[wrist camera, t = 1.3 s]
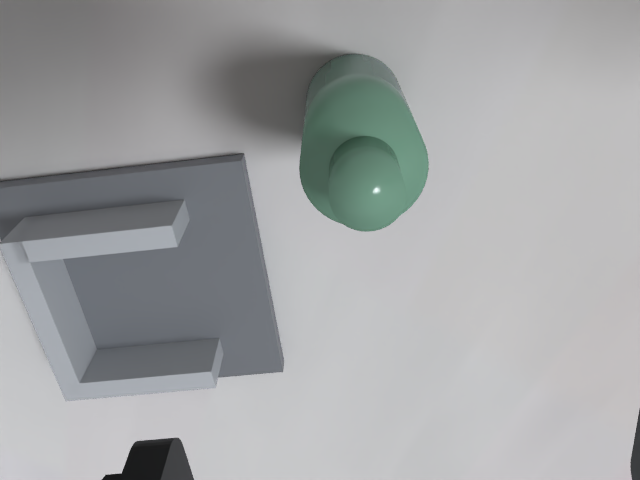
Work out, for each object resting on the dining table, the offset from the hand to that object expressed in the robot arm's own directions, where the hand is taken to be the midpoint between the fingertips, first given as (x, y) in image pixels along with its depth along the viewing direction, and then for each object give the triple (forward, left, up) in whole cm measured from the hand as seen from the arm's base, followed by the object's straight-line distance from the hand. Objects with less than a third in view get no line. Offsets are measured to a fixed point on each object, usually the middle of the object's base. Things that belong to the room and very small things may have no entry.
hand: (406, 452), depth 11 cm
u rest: (+13, +9, -22) cm, 27 cm away
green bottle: (0, 0, -22) cm, 22 cm away
